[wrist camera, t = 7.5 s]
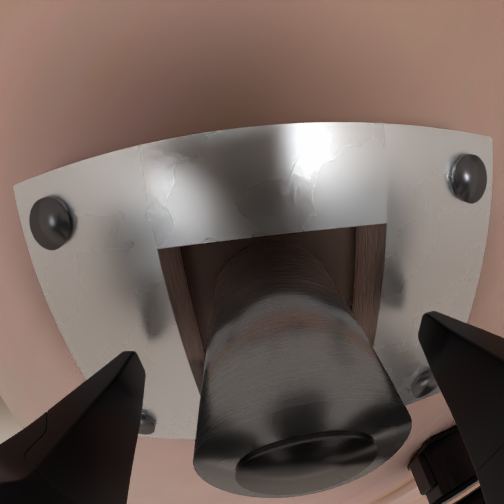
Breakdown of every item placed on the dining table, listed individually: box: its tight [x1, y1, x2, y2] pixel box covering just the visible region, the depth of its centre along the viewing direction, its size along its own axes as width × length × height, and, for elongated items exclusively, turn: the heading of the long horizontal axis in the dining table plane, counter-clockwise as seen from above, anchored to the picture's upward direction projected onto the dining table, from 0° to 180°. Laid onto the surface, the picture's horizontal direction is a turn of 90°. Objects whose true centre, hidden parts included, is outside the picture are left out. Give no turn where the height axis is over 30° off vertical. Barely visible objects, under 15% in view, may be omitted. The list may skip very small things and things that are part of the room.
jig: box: [13, 122, 493, 439], centre depth 10 cm, size 16×12×3 cm
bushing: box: [193, 241, 412, 498], centre depth 7 cm, size 4×4×7 cm
